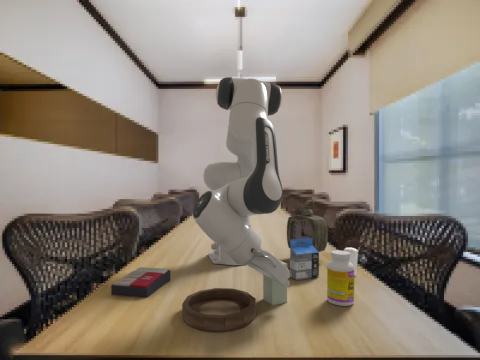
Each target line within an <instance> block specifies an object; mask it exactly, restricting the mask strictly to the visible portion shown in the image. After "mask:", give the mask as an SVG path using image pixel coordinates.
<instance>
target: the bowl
mask: <svg viewBox="0 0 480 360" xmlns="http://www.w3.org/2000/svg"><path fill="white" fill-rule="evenodd" d="M181 307H182V308H181V309H182V311H181V314H182V319H183V322H184V323H185V324H186V325H188V326H189V327H190V328H193V329H195V330H198V331H203V332H209V333H225V332H226V333H227V332H232V331H236V330H240V329H243V328H245V327H247V326H249V325H250V324H252V322H254V320H255V318H256V315H257V313H256V309H257V308H256V297H254V296H253V295H252V294H250V292H248V291H243V290H241V289H236V288H228V287H227V288H226V287H225V288H224V287H215V288H208V289H203V290H198V291H196V292H194V293H191V294H190V295H187V296H186V297H185V299H184V300H183V302H182V303H181Z"/></svg>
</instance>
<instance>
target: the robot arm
mask: <svg viewBox="0 0 480 360" xmlns="http://www.w3.org/2000/svg"><path fill="white" fill-rule="evenodd" d="M282 93H283V92H282V89H281V86H280V85H277V84H276V83H274V82H268V81H267V82H266V81H263V80H259V79H257V78H238V77H236V78H233V77H232V76H228V77H227V76H226V77H223V78H222V79H220V80H219V83H218V84H217V86H216V90H215V98H216V102H217V103H216V104H217V105H218V107H219V108H221V109H223V110H225V111H228V110H229V116H228V117H229V118H228V125H227V126H228V127H227V134H226V143H225V146H226V148H227V150H228V151H229V152H230V153H232V154H233V155H235V156H236V157H237V160H236V161H237V162H234V161H233V162H230V161H229V162H228V161H227V162H226V161H219V162H213V163H209V164H208V165H207V166H206V167H205V168H204V171H203V182H204V184H205V186H206V187H207V188H208V189H209V190H208V191H206V192H203V194H202V195H200V197H199V198H198V199H197V200H196V201H195V204H194V205H193V208H192V211H191V212H192V217H193V220H194V222H195V223H196V224H197V226H198V227H199V228H200V229H201V231H202V232H203V233H205V235H206V236H207V237H208V238H209V239H210V240H212V241H213V243H211V244H210V245H211V246H210V248H211V250H213V251H209V252H208V253H207V255H208V258H209V259H210V261H211V262H212V264H214V265H215V264H216V265H226V266H243V265H246V266H247V267H249V268H251V269H253V270H255V271H256V272H258V273H260V274H262V275H263V274H264V275H265V276H267V277H269V278H271V279H273V280H274V281H276V282H278V283H280V284H281V285H282V286H283V287H285V288H287V289H288V288H289V286H290V285H291V282H290V280H289V279H288V278H290V269H289V268H288V267H287V268H286V267H285V266H284V265H283V264H282V263H281V262H280V261H281V260H280V261H279V259H278V258H277V257H276V256H275V255H274V254H273V253H271V252H269V251H267V250H264V249H262V248H263V247H262V238H261V236H260V235H259V234H257V233H256V232H255V230H254V229H253V228H252V227H251V224H250V216H255V215H267V214H272V213H274V212H275V211H276V210H277V209H278V208H279V207H280V206H281V203H282V201H283V200H282V199H283V197H284V195H283V194H284V193H283V192H284V191H283V186H282V181H281V178H280V172H279V161H278V152H277V151H278V150H277V149H278V148H277V139H276V133H275V128H274V125H273V123H272V122H271V121H270V120H269V119H268V118H269V116H273V115H275V114H277V113H278V111H279V109H280V107H281V106H282V103H283V94H282Z"/></svg>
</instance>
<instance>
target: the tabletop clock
mask: <svg viewBox="0 0 480 360" xmlns="http://www.w3.org/2000/svg"><path fill="white" fill-rule="evenodd" d="M304 200H309V201H311V202H312V205H311V206H309V204H306V205H303V204H302V202H303V201H304ZM299 204H300V206H301V207H302V208H304V209H302V210H301V212H300V215H291V216H289V217H288V219H287V223H286V241H287V246H288V248H289V249H290V240H292V239H306V238H312V245H313V247H314V248H315V249H316V250H317V251H318V252H319V253H320V252H324V251H326V248H327V244H328V235H329V234H328V232H329V231H328V223H327V220H326V219H325V218H324V217H322V216H319V215H314V211H313V210H312V208H314V206H315V201H314V199H313V198H311V197H303V198H301V200H300V203H299ZM298 244H305V242H302V241H301V242H300V243H298Z"/></svg>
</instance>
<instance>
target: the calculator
mask: <svg viewBox="0 0 480 360" xmlns="http://www.w3.org/2000/svg"><path fill="white" fill-rule="evenodd" d="M170 281H171V270H170V269H169V268H159V267H158V268H157V267H146V266H145V267H142V266H140V267H138V268H136V269H135V270H132V271H131V272H128V273H127V274H126V275H124V276H122V277H121V278H119V279H117V280H116V281H115V282H113V284H112V285H110V286H111V287H110V291H111V292H110V293H111V296H121V297H130V298H141V299H142V298H144V299H146V298H149V297H150V296H151V295H153V294H154V293H156V291H158V290H159V289H160V288H162V287H163V286H165V285H166V284H168V283H169V282H170Z"/></svg>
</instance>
